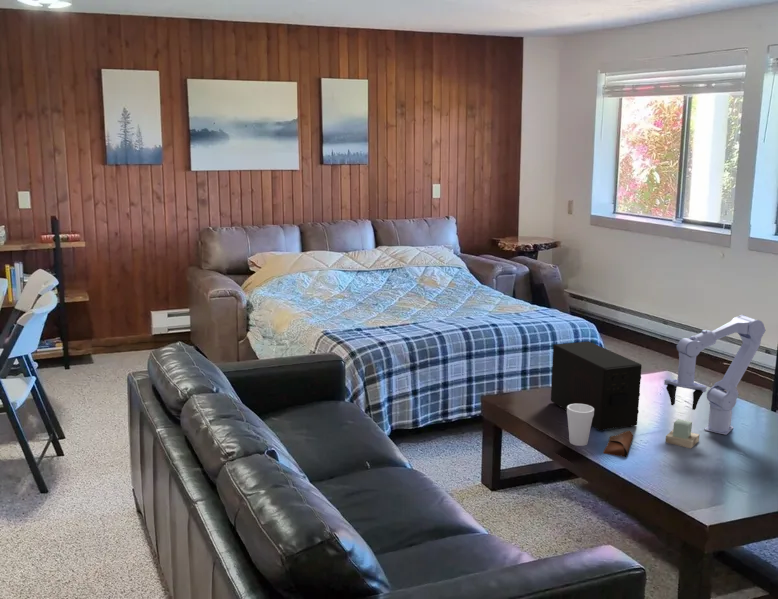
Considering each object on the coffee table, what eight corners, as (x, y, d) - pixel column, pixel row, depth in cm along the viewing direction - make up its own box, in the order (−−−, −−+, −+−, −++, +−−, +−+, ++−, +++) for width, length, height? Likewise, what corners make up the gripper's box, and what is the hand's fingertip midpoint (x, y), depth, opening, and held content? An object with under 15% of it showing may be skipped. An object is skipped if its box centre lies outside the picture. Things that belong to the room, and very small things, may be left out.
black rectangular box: (647, 429, 297) (652, 365, 292) (602, 435, 291) (607, 370, 286) (590, 397, 332) (593, 340, 327) (549, 402, 325) (552, 344, 320)
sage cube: (676, 431, 288) (677, 418, 287) (690, 434, 285) (692, 421, 284) (672, 436, 284) (673, 422, 283) (687, 439, 281) (688, 425, 280)
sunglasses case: (608, 435, 290) (619, 422, 288) (625, 447, 289) (636, 434, 286) (602, 453, 274) (613, 439, 272) (619, 466, 273) (630, 452, 270)
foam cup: (595, 440, 286) (597, 406, 283) (587, 449, 278) (590, 414, 275) (569, 435, 290) (571, 401, 288) (561, 444, 282) (563, 409, 280)
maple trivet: (673, 436, 292) (674, 428, 291) (698, 442, 286) (699, 434, 286) (665, 443, 285) (666, 435, 284) (690, 449, 279) (691, 441, 279)
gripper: (662, 370, 289) (660, 405, 292) (703, 377, 281) (700, 413, 284) (669, 365, 295) (666, 400, 298) (709, 372, 286) (706, 408, 289)
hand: (683, 406), depth 291 cm, fingers open, 7 cm apart
